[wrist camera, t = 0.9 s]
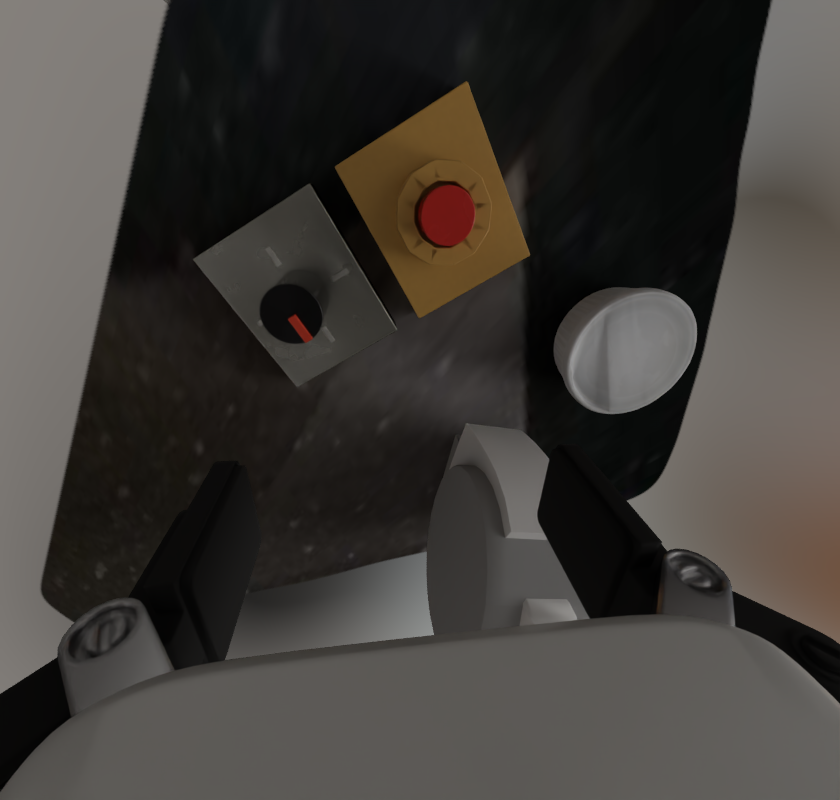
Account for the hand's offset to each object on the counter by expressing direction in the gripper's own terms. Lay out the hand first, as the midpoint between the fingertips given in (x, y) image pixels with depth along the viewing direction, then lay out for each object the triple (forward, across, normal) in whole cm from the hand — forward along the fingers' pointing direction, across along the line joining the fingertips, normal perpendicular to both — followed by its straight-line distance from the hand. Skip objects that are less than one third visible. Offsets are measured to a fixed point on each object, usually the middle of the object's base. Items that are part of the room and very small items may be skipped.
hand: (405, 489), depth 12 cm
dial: (+21, +6, -1) cm, 22 cm away
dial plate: (+23, +6, -1) cm, 24 cm away
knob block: (+23, -4, -7) cm, 25 cm away
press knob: (+20, -4, -7) cm, 21 cm away
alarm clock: (+24, -9, +19) cm, 32 cm away
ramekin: (+24, -21, +3) cm, 32 cm away
